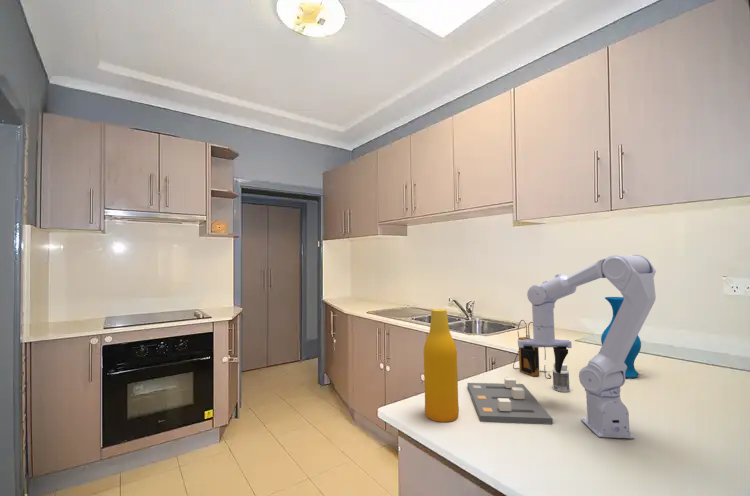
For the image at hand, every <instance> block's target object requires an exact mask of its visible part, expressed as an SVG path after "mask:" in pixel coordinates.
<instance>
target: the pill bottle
mask: <svg viewBox="0 0 750 496" xmlns="http://www.w3.org/2000/svg"><path fill="white" fill-rule="evenodd" d="M552 388H553V390H555V391H556V392H560V393H567V392H569V391H570V372H569V370H568V364H567V363H565V362H563V364H562V368H561V373H557V372H556V371H555V362H553V369H552Z"/></svg>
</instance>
